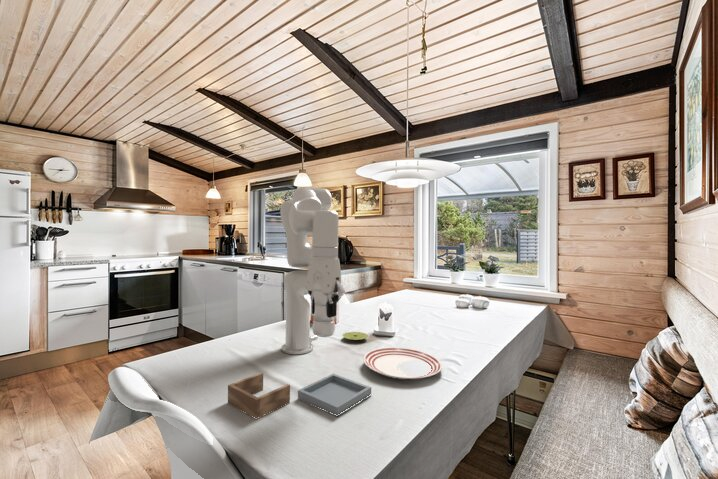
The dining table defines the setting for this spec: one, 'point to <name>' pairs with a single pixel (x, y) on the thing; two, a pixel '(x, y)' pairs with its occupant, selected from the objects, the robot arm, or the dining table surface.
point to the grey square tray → (334, 393)
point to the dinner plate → (399, 361)
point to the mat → (355, 335)
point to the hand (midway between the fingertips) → (324, 314)
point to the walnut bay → (254, 405)
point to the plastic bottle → (322, 314)
